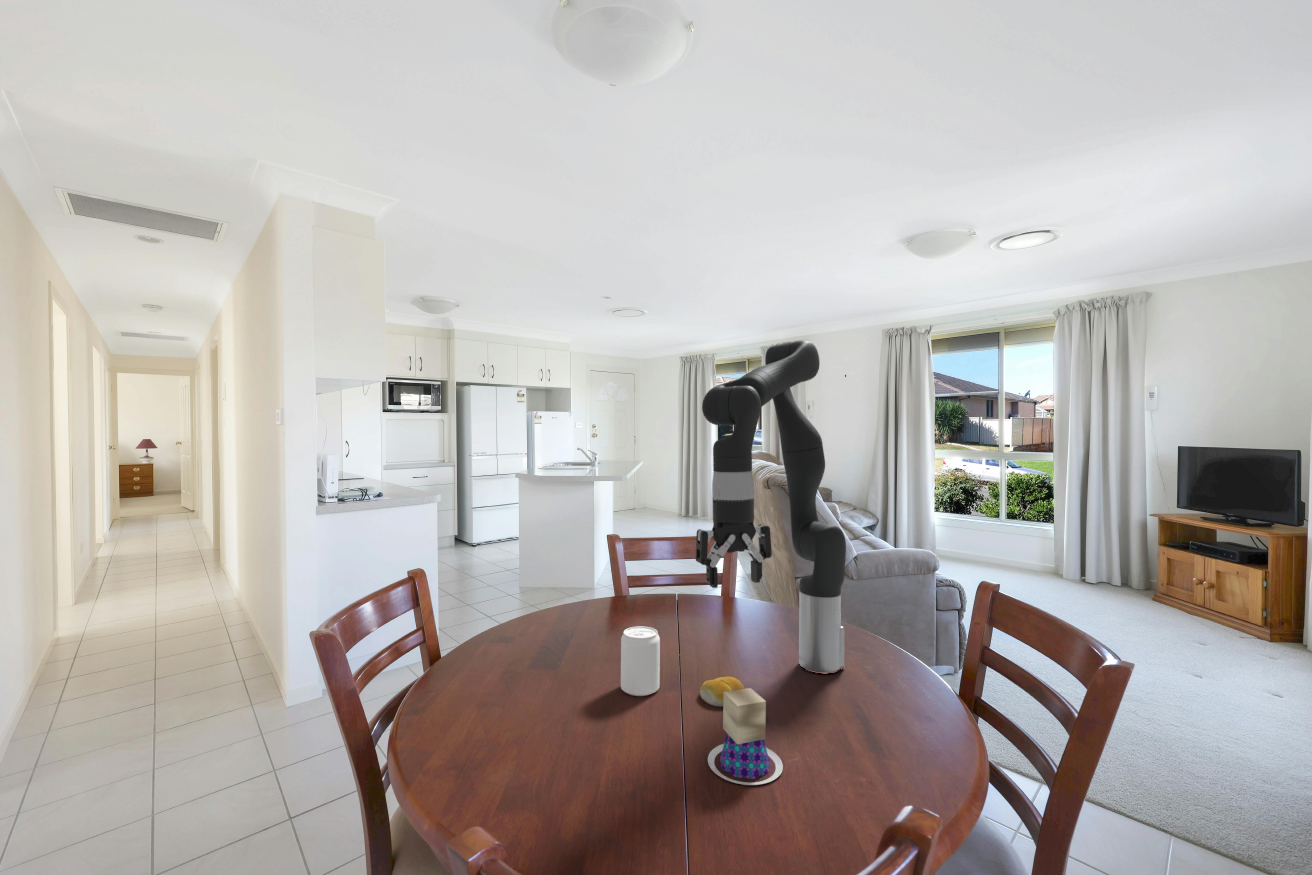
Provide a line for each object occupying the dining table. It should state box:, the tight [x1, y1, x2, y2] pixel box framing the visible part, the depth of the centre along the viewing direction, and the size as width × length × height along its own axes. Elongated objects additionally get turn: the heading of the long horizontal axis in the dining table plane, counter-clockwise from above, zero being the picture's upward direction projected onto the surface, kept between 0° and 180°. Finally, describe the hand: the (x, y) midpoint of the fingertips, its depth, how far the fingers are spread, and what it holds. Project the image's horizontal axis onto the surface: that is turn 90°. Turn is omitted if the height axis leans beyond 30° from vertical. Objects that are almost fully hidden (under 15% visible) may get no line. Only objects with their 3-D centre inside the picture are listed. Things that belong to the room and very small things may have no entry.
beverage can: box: [620, 625, 661, 697], centre depth 116 cm, size 8×8×12 cm
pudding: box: [707, 732, 784, 786], centre depth 89 cm, size 12×12×5 cm
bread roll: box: [699, 676, 746, 708], centre depth 113 cm, size 8×9×4 cm
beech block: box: [722, 687, 767, 744], centre depth 90 cm, size 5×5×6 cm
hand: (734, 584), depth 101 cm, fingers open, 8 cm apart
